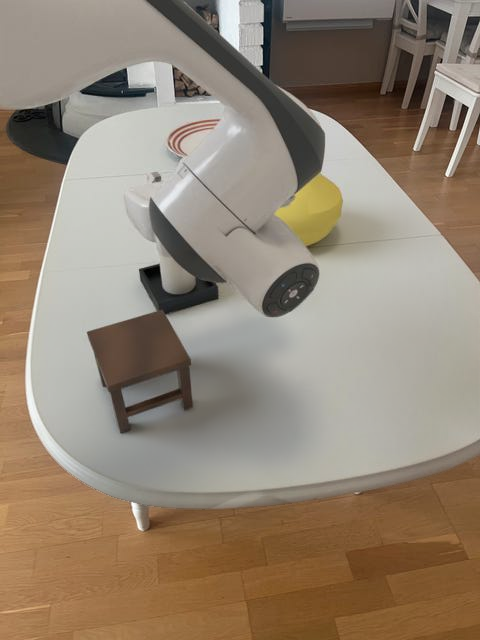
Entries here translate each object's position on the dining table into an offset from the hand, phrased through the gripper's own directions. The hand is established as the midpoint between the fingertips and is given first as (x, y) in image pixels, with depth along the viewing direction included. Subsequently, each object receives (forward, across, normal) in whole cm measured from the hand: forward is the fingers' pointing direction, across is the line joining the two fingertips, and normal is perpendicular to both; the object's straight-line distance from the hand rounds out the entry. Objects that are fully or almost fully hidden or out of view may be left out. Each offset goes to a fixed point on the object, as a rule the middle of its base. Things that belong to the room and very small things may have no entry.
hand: (184, 171), depth 71 cm
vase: (+15, -28, +26) cm, 42 cm away
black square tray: (+8, 0, +26) cm, 28 cm away
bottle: (+8, 0, +25) cm, 27 cm away
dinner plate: (+61, -31, +26) cm, 74 cm away
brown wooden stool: (-13, +13, +27) cm, 32 cm away
